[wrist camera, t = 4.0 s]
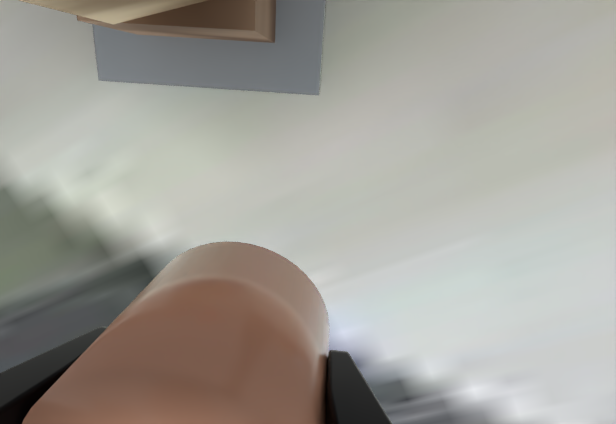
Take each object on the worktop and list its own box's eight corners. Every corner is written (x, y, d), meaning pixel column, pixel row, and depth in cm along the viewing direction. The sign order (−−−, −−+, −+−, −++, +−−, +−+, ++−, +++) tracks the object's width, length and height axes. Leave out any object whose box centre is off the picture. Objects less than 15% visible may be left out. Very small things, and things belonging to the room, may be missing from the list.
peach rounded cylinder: (337, 250, 8) (336, 387, 5) (322, 408, 10) (311, 610, 6) (139, 233, 9) (-16, 349, 5) (153, 389, 10) (43, 572, 6)
